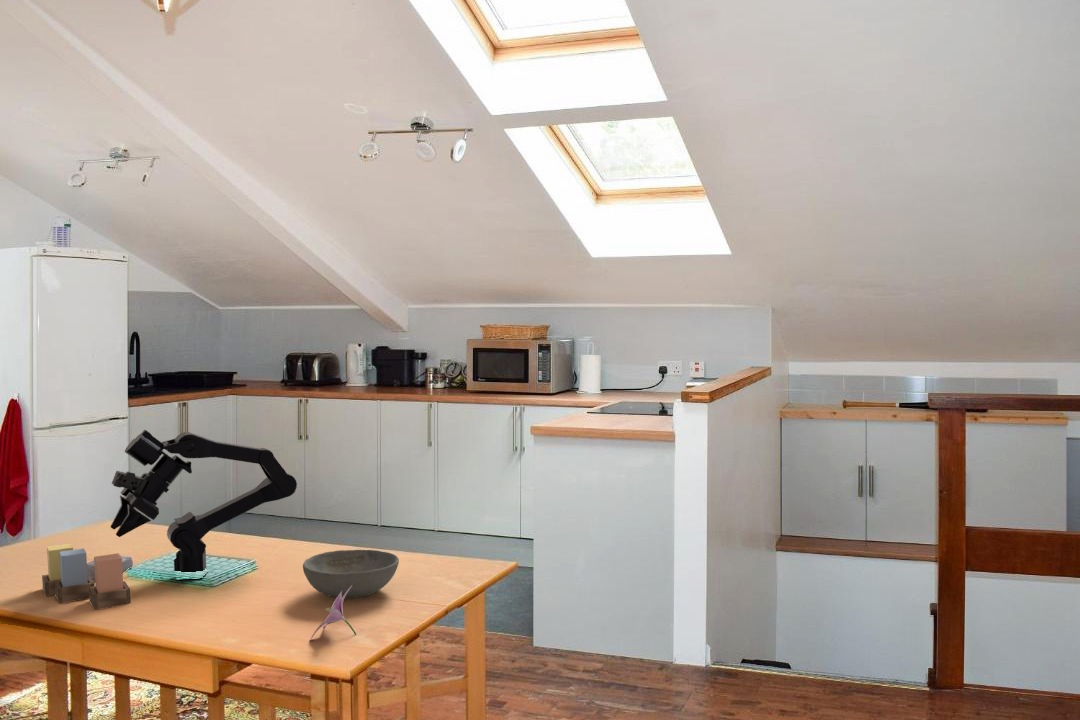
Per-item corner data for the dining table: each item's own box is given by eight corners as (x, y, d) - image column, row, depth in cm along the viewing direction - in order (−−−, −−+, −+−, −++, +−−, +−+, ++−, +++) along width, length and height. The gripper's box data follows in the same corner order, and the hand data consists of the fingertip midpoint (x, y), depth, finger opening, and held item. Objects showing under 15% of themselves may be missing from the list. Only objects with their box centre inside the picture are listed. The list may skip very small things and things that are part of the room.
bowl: (297, 588, 215) (295, 554, 214) (386, 576, 223) (385, 542, 222) (313, 615, 195) (311, 577, 195) (410, 600, 203) (409, 564, 203)
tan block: (120, 586, 211) (118, 553, 210) (123, 591, 206) (121, 557, 206) (95, 590, 208) (93, 556, 208) (98, 595, 204) (96, 561, 203)
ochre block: (72, 574, 221) (70, 543, 221) (74, 579, 217) (73, 547, 217) (48, 578, 219) (46, 546, 218) (50, 583, 214) (48, 550, 214)
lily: (350, 625, 191) (325, 586, 190) (387, 612, 185) (361, 572, 184) (313, 662, 181) (286, 621, 180) (350, 650, 175) (322, 608, 174)
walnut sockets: (114, 577, 227) (113, 564, 227) (130, 603, 206) (130, 589, 206) (42, 588, 219) (42, 575, 219) (52, 617, 198) (51, 602, 198)
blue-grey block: (85, 580, 216) (83, 548, 215) (88, 585, 212) (86, 552, 211) (61, 584, 213) (59, 551, 213) (63, 589, 209) (61, 556, 209)
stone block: (71, 587, 226) (106, 580, 224) (67, 568, 226) (102, 561, 224) (103, 575, 238) (137, 568, 236) (99, 556, 238) (133, 550, 236)
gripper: (126, 452, 226) (80, 505, 221) (138, 462, 210) (89, 519, 206) (163, 479, 231) (120, 531, 226) (178, 490, 215) (131, 547, 210)
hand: (114, 532), depth 217 cm, fingers open, 9 cm apart
